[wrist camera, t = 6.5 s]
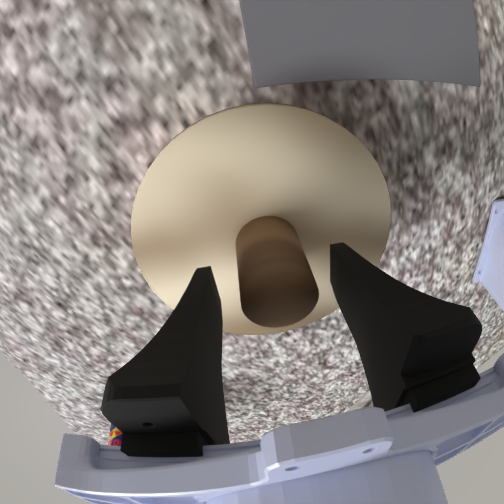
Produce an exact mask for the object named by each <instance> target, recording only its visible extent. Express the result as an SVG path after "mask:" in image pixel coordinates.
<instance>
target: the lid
mask: <svg viewBox="0 0 504 504" xmlns="http://www.w3.org/2000/svg"><path fill="white" fill-rule="evenodd" d="M390 224H391V205H390V196H389V192H388V188H387V184H386V181H385V178H384V176H383V174H382V171H381V169H380V167H379V165H378V164H377V162H376V160H375V159H374V157H373V156H372V154H371V153H370V151H369V150H368V149H367V148H366V147H365V146H364V145H363V144H362V142H361V141H360V140H359V139H358V138H356V137H355V136H354V135H353V134H352V133H350V132H349V131H348V130H347V129H345V128H344V127H342V126H340V125H339V124H337V123H335V122H334V121H332V120H330V119H328V118H327V117H325V116H323V115H320V114H318V113H315V112H313V111H310V110H308V109H305V108H300V107H296V106H291V105H287V104H275V103H258V104H246V105H241V106H237V107H232V108H228V109H224V110H222V111H219V112H216V113H214V114H211V115H209V116H206V117H205V118H203V119H201V120H199V121H197V122H195V123H194V124H192V125H190V126H189V127H187V128H186V129H185V130H183V131H182V132H181V133H179V134H178V135H177V136H176V137H174V138H173V139H172V140H171V141H170V142H169V143H168V144H167V145H166V146H165V148H164V149H163V150H162V151H161V152H160V153H159V155H158V156H157V157H156V159H155V160H154V162H153V163H152V164H151V166H150V167H149V169H148V171H147V172H146V174H145V176H144V178H143V180H142V182H141V184H140V186H139V189H138V192H137V195H136V198H135V201H134V205H133V211H132V218H131V238H132V244H133V250H134V254H135V257H136V260H137V263H138V266H139V268H140V270H141V272H142V274H143V276H144V278H145V280H146V281H147V282H148V284H149V285H150V287H151V288H152V290H153V291H154V292H155V293H156V294H157V295H158V296H159V298H160V299H161V300H162V301H163V302H165V303H166V304H167V305H168V306H169V307H170V308H172V309H173V310H174V309H175V307H176V306H177V304H178V302H179V301H180V299H181V297H182V295H183V294H184V292H185V290H186V288H187V286H188V284H189V282H190V280H191V278H192V276H193V274H194V272H195V270H196V269H197V268H201V267H207V266H211V268H212V272H213V275H214V279H215V282H216V285H217V289H218V292H219V296H220V299H221V306H222V317H223V332H227V333H233V334H243V335H264V334H273V333H279V332H284V331H289V330H293V329H296V328H299V327H302V326H305V325H308V324H310V323H312V322H315V321H317V320H319V319H321V318H323V317H325V316H326V315H328V314H330V313H332V312H333V311H335V310H336V309H338V308H339V305H338V303H337V301H336V298H335V295H334V292H333V289H332V286H331V283H330V244H335V243H341V242H344V243H345V244H347V245H348V246H349V247H350V248H352V249H353V250H354V251H356V252H357V253H358V254H360V255H361V256H362V257H363V258H365V259H366V260H367V261H369V262H370V263H372V264H373V265H374V266H376V267H377V265H378V263H379V261H380V259H381V257H382V254H383V252H384V249H385V246H386V243H387V240H388V236H389V230H390Z"/></svg>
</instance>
